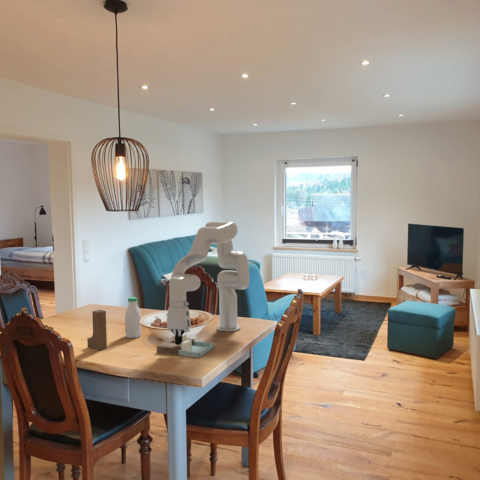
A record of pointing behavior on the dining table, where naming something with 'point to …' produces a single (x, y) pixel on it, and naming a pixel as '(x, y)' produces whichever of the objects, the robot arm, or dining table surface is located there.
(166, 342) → the walnut board
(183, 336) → the tile
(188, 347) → the tile
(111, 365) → the dining table surface
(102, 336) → the wooden block
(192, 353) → the tray
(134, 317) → the milk bottle
